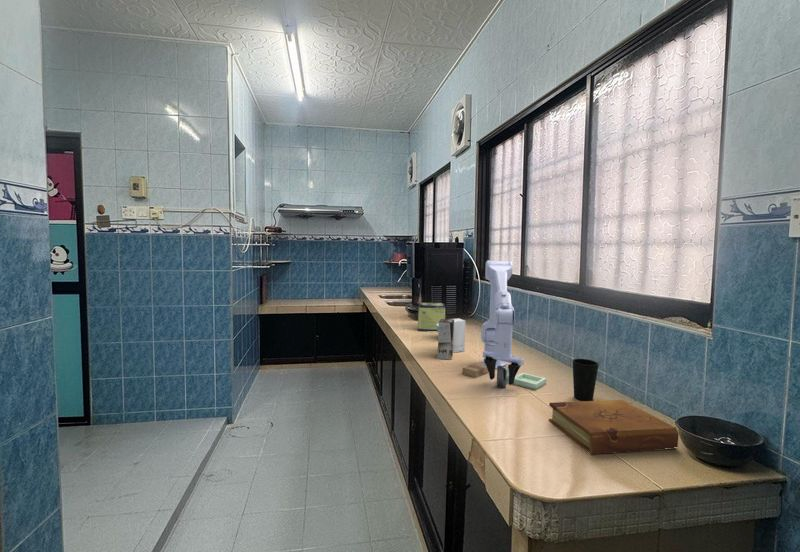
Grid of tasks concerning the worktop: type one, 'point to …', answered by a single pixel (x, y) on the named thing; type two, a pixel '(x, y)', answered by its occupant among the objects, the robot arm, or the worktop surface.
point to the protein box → (430, 315)
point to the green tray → (529, 381)
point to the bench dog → (507, 376)
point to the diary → (612, 426)
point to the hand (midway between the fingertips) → (501, 381)
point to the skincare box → (459, 335)
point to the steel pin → (501, 376)
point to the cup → (584, 378)
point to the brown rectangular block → (475, 370)
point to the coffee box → (445, 339)
